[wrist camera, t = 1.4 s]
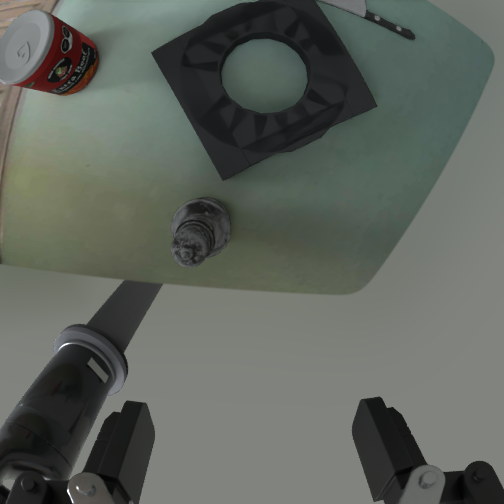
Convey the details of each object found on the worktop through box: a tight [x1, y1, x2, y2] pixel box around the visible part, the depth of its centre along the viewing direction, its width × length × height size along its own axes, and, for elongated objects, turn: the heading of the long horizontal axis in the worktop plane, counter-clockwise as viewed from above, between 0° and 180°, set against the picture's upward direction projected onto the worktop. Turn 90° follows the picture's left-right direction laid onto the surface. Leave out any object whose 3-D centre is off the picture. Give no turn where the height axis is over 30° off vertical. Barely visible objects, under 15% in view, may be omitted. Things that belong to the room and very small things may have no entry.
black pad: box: [151, 0, 377, 181], centre depth 28 cm, size 18×17×2 cm
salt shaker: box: [171, 198, 231, 267], centre depth 28 cm, size 6×6×12 cm
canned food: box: [0, 9, 98, 95], centre depth 22 cm, size 8×8×11 cm
